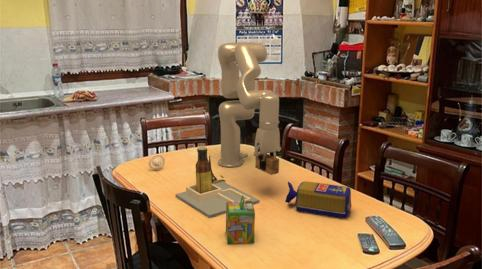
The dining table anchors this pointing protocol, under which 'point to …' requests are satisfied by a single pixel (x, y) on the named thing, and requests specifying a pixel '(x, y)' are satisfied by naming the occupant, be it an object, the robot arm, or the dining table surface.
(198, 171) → the sauce bottle
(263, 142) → the robot arm
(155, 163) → the ring around a ball
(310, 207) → the bread
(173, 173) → the dining table surface
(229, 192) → the jig board
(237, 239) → the chalk box
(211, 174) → the eiffel tower figurine
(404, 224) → the dining table surface
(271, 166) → the brown wooden block
